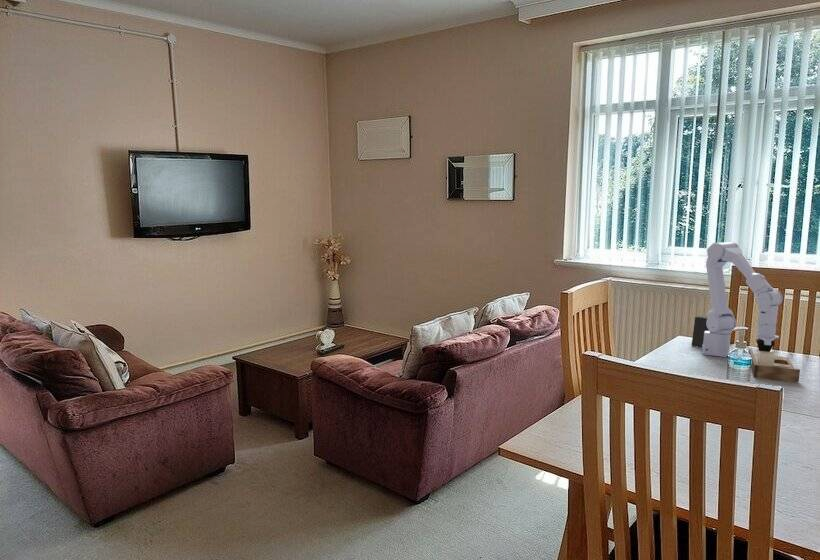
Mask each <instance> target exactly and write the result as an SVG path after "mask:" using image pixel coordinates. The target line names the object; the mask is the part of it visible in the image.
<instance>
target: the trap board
mask: <svg viewBox="0 0 820 560" xmlns="http://www.w3.org/2000/svg"><path fill="white" fill-rule="evenodd" d="M747 353H749V354H750V355H751V357H752V364H751V367H750V368H751V369H750V370H751V372H752V376H753V378H757V379H765V380H772V381H773V380H775V381H781V382H788V381H790V382H789V383H796V382H799V381H800V372H801V369H799V368H795V367H794V365H793V363H792V362H791V360H790V357H788V356H779V355H778V356H777V355H775V358H774V366H768V365H759V364H758V363H757V362H758V353H754V351H753V348H751V347H748V352H747ZM799 383H800V382H799Z"/></svg>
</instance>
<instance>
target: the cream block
mask: <svg viewBox="0 0 820 560" xmlns="http://www.w3.org/2000/svg"><path fill="white" fill-rule="evenodd" d="M757 354H758V362H757V363H758V364H759V365H768V366H774V358H775V356H776V355H775V354H774V351H770V352H766V351H759V350H758V353H757Z"/></svg>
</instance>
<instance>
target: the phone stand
mask: <svg viewBox="0 0 820 560" xmlns="http://www.w3.org/2000/svg"><path fill="white" fill-rule="evenodd" d="M706 321H707V316H700V315H695V316H694V325H693V331H692V339H691V345H694V346H693V347H695V346H698V347H697V348H702V344H703V341H704V331H709V329H708V328H707V325H706Z"/></svg>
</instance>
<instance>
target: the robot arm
mask: <svg viewBox="0 0 820 560" xmlns="http://www.w3.org/2000/svg"><path fill="white" fill-rule="evenodd" d="M706 252H707V258H706V265H705V267H706V274H707V281H708V288H709V289H708V290H709V297H710V305H711V309H710V310H709V311H708V312H707V314H706V317H707V321H706V325H707V328H708V329H709V331H704V341H703V344H702V347H701V349H702V354H703V355H704V356H705V355H706V356H715V357H723V358H728V357H727V356H728V354H729V353H730V345H731V336H732V335H731V333H733V330H734V329H735V328H736V326H737V319H736V318H735V316H734V313H733V312H734V311H732V309H731V308H729V306H728V298H727V293H726V292H727V291H726V285H725V278H724V270H723V268H724V267H725V265H726V264H727V263H732V264H733V265H734V266H735V267H736V269H738V271H739V272H740V273H741V274H742V275H743V276H744V277H745V278H746V279H745V283H746V285H747V286H748V287H749V289H750V290H751V291H752V292H753V294H754V295H755V296H756V298H755V300H756V301H755V302H756V303H757V304H758V319H757V326H756V333H755V338H756V339H755V342H756V343H757V348H758V352H759V351H766V352H772V351H771V350H772V348H773V347H774V346H775V344H776V343H775V339H778V340H779V339H780V336H779V335H777V334H776V331H777V322H778V315H779V313H778V312H779V306H780V305H781V304H782V303H783V300H784V297H783V294H782V293H781V291H780V290H779V289H774V287H773V286H772V285H771V284H770V283H769V282H768V281H767V279H766V277H765V275H764V274H761V273H756V272H755V270H754V268H753V267H752V266H751V265H750V263H749V261H748V260H747V259H746V257H745V256H744V255H743V249H742V248H741V247H739V245H738V243H736V242H734V241H729V242H713V243H712V244H710V246H708V248H707V249H706ZM758 338H759V339H758ZM730 354H731V353H730Z"/></svg>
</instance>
